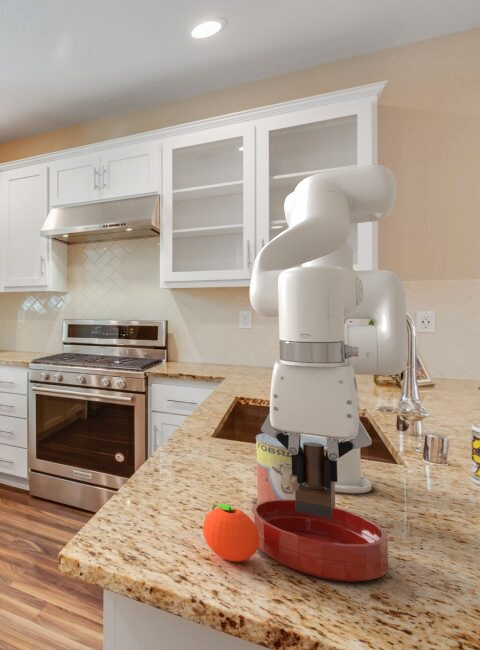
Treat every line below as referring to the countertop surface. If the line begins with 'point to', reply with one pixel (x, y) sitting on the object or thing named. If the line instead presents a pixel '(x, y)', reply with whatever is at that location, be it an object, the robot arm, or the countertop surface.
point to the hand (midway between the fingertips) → (314, 482)
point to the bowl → (321, 541)
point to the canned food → (278, 468)
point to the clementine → (230, 533)
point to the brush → (314, 484)
